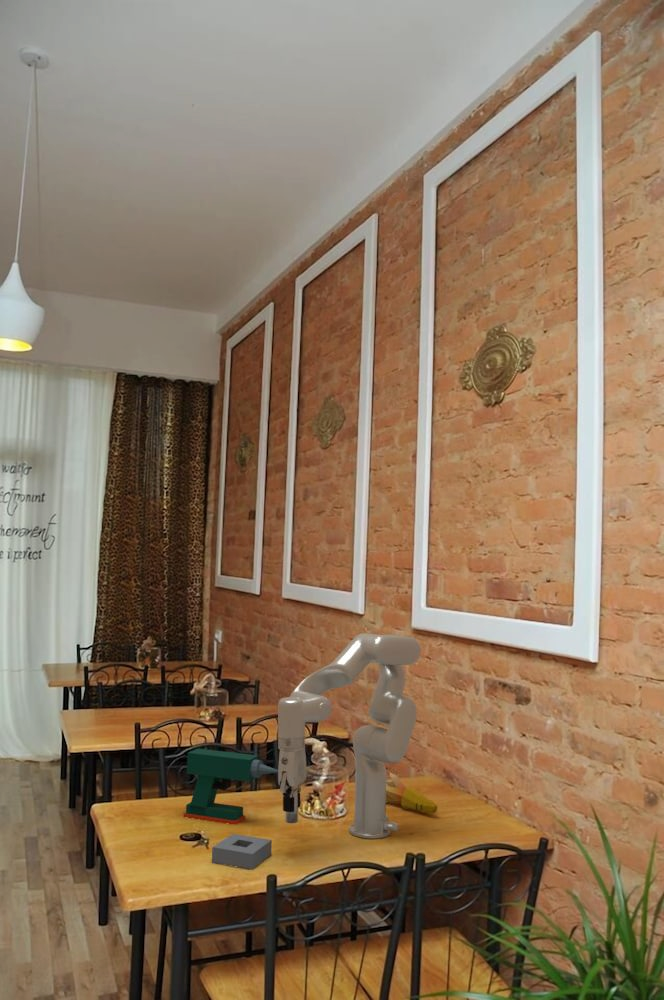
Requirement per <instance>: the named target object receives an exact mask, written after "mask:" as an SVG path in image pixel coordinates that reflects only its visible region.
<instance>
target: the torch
mask: <svg viewBox="0 0 664 1000" xmlns="http://www.w3.org/2000/svg"><path fill="white" fill-rule="evenodd" d="M389 775H390V778H391V779H392V780H386V801H387V802H390V803H392V804H393V805H401V808H402V809H403V810H405V809H407V810H408V811H409V810H412V811H413V810H415V811H418V812H419V813H423V814H429V815H430V814H436V813H437V812H438V805H437V804H436V803H435V802H434V801H432V800H431V799H429V798H427V797H426V796H425V795H424V794H423V793H421V792H420V791H418V790H417V789H416V788H414V787H412V786H410V787H406V786H405V785H404V783H403V782H402V780H401V779H400V777H399V776H398V775H396V774H394V773H392V772H389ZM387 802H386V803H387ZM390 803H389V804H390ZM392 804H391V805H392Z"/></svg>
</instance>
